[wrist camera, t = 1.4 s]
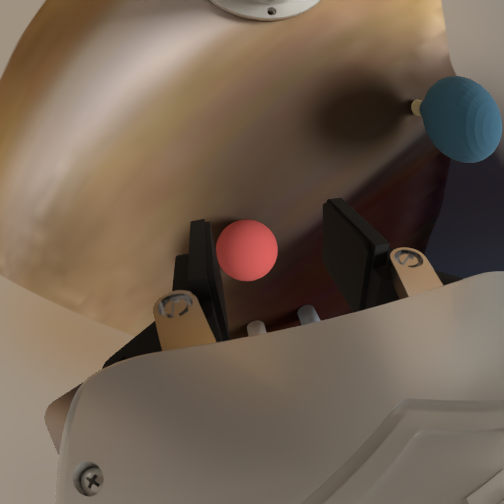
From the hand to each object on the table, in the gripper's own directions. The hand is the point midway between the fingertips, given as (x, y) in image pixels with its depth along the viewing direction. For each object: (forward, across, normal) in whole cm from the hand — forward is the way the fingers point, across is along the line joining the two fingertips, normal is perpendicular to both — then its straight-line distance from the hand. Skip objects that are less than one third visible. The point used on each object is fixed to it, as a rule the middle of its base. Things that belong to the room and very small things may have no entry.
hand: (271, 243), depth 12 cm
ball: (+14, 0, +9) cm, 17 cm away
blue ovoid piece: (+18, -21, -4) cm, 28 cm away
